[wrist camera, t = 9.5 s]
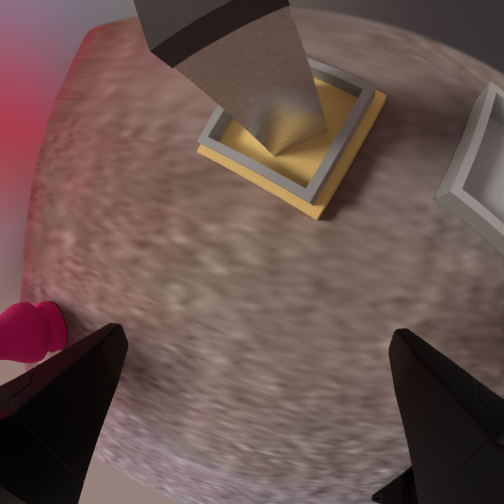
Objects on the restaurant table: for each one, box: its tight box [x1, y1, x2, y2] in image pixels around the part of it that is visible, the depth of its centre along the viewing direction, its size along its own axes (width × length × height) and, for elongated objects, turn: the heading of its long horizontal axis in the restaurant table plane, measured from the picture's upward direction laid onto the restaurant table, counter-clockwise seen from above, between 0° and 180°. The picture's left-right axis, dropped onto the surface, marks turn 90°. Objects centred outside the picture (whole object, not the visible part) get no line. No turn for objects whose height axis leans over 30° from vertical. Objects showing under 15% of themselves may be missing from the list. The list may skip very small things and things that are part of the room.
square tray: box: [197, 58, 387, 220], centre depth 18 cm, size 10×10×3 cm
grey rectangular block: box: [134, 0, 328, 156], centre depth 12 cm, size 4×4×13 cm
